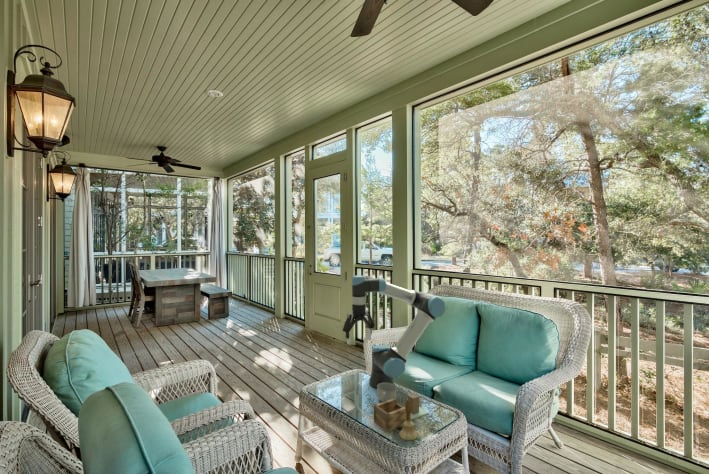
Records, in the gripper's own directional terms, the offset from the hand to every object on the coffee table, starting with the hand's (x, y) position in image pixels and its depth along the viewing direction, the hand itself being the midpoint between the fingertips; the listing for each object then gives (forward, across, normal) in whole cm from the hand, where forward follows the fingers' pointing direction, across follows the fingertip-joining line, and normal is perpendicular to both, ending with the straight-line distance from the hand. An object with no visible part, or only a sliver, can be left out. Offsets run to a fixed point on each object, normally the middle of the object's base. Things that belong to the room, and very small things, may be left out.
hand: (359, 341), depth 189 cm
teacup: (+32, -10, +11) cm, 35 cm away
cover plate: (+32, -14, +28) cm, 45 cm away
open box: (+32, 0, +28) cm, 42 cm away
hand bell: (+32, +1, +40) cm, 52 cm away
